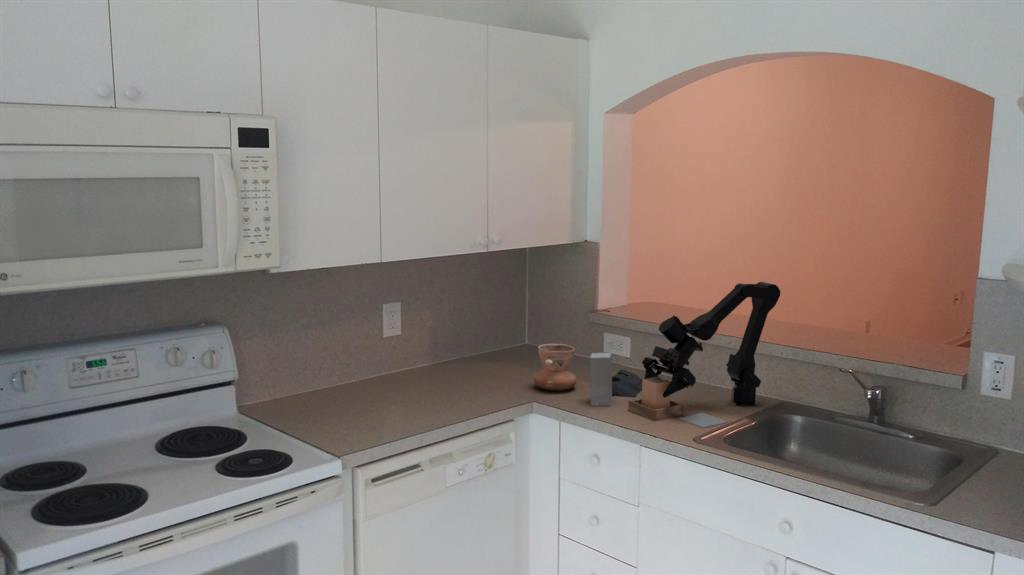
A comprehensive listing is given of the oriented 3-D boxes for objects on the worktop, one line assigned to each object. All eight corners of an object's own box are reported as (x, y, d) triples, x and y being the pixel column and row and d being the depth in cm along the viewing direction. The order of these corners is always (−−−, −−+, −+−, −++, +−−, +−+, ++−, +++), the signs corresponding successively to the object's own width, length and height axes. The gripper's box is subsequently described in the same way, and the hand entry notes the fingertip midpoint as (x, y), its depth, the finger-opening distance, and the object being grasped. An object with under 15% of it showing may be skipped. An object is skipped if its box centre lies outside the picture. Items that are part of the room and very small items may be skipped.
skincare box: (610, 407, 249) (612, 358, 247) (587, 406, 250) (589, 356, 248) (612, 400, 257) (614, 352, 255) (590, 398, 259) (591, 350, 256)
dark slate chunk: (591, 396, 263) (592, 382, 263) (608, 380, 284) (609, 367, 283) (637, 401, 258) (638, 387, 257) (651, 384, 278) (652, 371, 278)
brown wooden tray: (656, 406, 251) (656, 395, 251) (682, 416, 242) (683, 404, 241) (628, 411, 245) (628, 400, 244) (654, 422, 235) (654, 410, 235)
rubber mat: (702, 415, 243) (702, 412, 242) (727, 424, 234) (727, 421, 234) (678, 420, 237) (678, 417, 237) (703, 429, 229) (703, 427, 229)
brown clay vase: (567, 397, 260) (569, 354, 258) (526, 391, 265) (527, 349, 263) (583, 384, 277) (585, 344, 275) (544, 379, 282) (545, 339, 280)
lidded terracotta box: (656, 408, 247) (657, 376, 246) (669, 413, 242) (671, 380, 241) (641, 411, 244) (642, 378, 243) (654, 416, 239) (656, 383, 238)
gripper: (647, 331, 250) (619, 370, 245) (690, 342, 234) (661, 384, 230) (665, 353, 255) (637, 391, 251) (708, 365, 240) (679, 406, 235)
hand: (652, 392), depth 242 cm, fingers open, 9 cm apart
